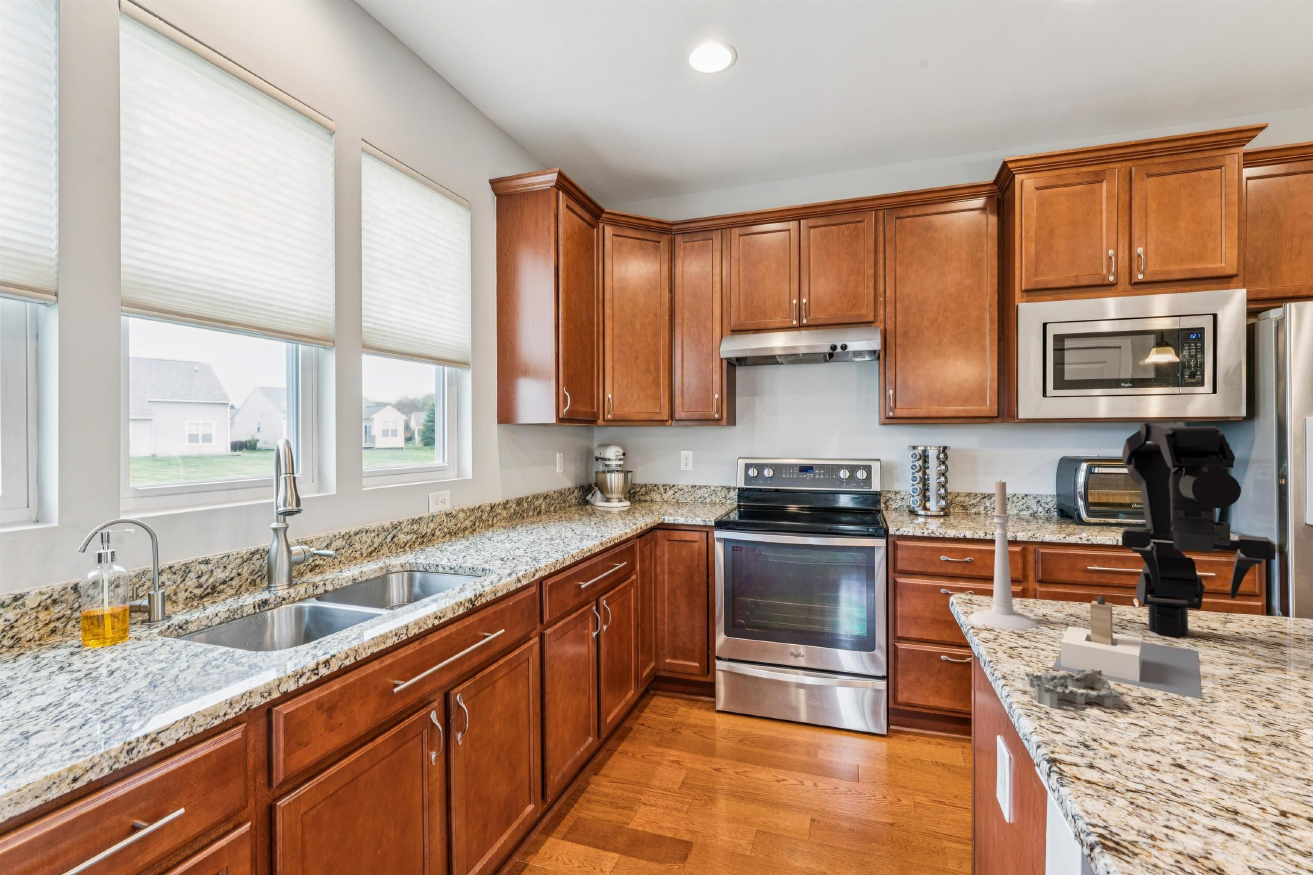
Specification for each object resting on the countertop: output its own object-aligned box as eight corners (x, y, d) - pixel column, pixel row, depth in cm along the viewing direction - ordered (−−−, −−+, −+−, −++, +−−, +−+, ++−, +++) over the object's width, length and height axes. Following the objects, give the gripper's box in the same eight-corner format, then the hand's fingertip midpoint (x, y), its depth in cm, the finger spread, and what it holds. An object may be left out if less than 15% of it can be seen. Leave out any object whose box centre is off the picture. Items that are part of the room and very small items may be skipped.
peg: (1093, 659, 99) (1092, 593, 99) (1113, 663, 97) (1111, 596, 97) (1091, 664, 97) (1090, 596, 97) (1111, 668, 96) (1110, 599, 96)
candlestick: (1000, 638, 113) (997, 482, 113) (954, 618, 126) (951, 478, 126) (1056, 632, 116) (1053, 480, 116) (1005, 613, 129) (1002, 476, 129)
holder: (1069, 648, 104) (1069, 626, 104) (1142, 662, 98) (1142, 638, 98) (1061, 665, 97) (1060, 641, 97) (1139, 681, 90) (1138, 655, 90)
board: (1071, 635, 114) (1071, 629, 114) (1197, 656, 102) (1197, 651, 102) (1052, 674, 96) (1051, 668, 96) (1201, 705, 84) (1201, 698, 84)
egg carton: (1105, 696, 89) (1104, 669, 89) (1125, 719, 81) (1125, 690, 81) (1023, 687, 92) (1023, 661, 92) (1036, 708, 85) (1036, 680, 85)
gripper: (1117, 502, 100) (1119, 594, 100) (1277, 510, 87) (1279, 615, 87) (1124, 496, 108) (1125, 581, 108) (1271, 502, 95) (1272, 598, 95)
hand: (1194, 593), depth 99 cm, fingers open, 9 cm apart
